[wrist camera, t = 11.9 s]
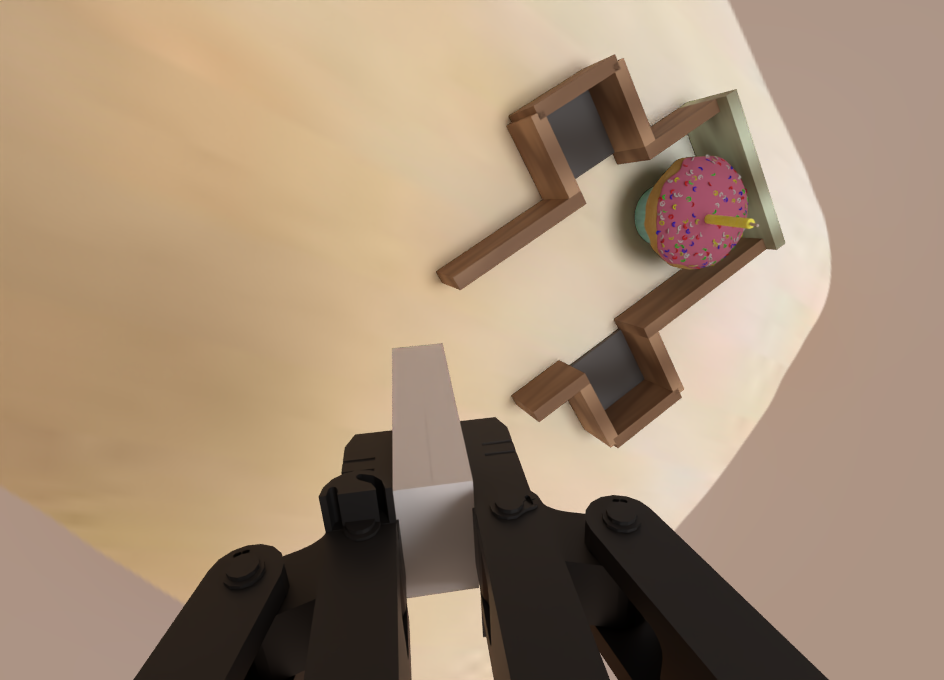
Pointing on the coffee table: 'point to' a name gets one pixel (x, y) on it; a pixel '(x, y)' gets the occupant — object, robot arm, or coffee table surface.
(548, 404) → the trap lane
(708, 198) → the cupcake
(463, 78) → the coffee table surface
